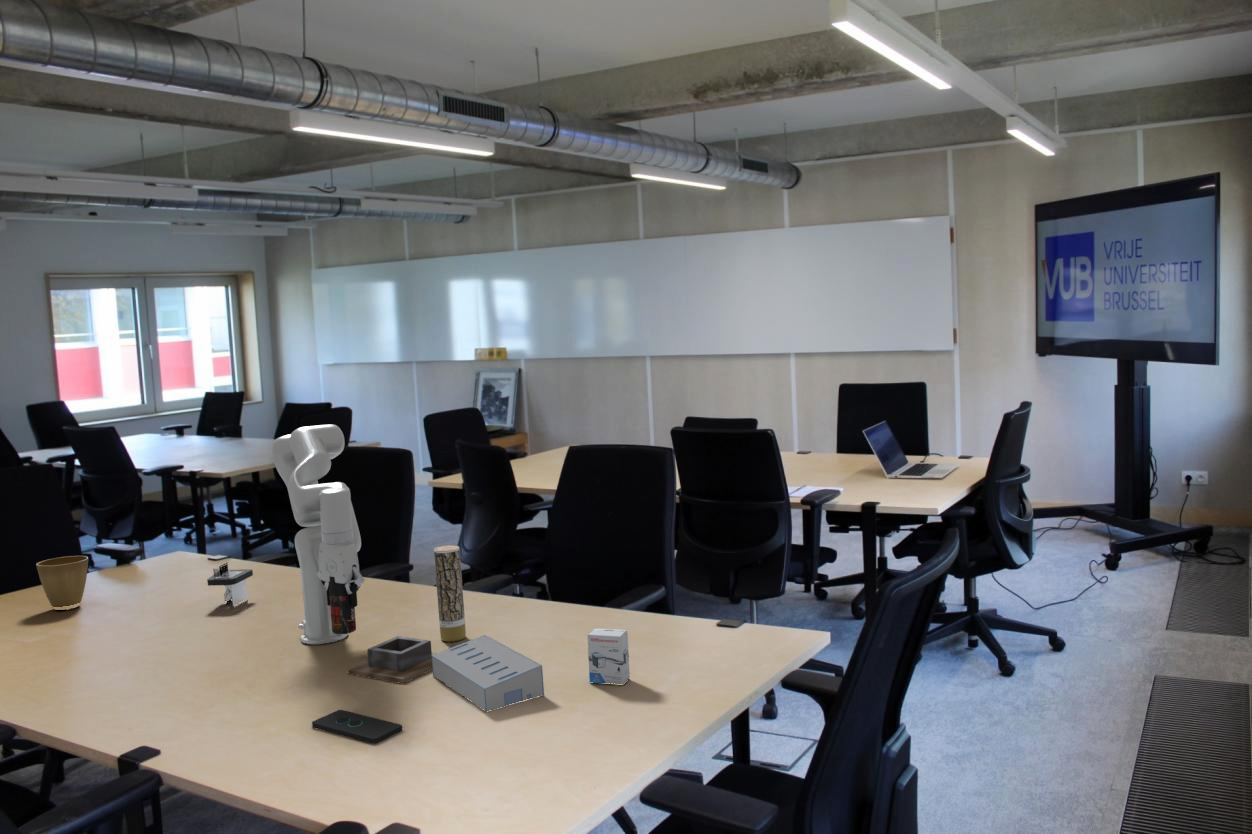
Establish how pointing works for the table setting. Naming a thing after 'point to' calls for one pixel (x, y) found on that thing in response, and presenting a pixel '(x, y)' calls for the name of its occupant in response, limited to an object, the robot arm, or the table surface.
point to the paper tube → (450, 593)
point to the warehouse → (488, 673)
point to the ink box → (608, 656)
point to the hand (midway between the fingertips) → (342, 605)
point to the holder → (396, 660)
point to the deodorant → (340, 609)
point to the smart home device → (357, 726)
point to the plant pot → (63, 579)
